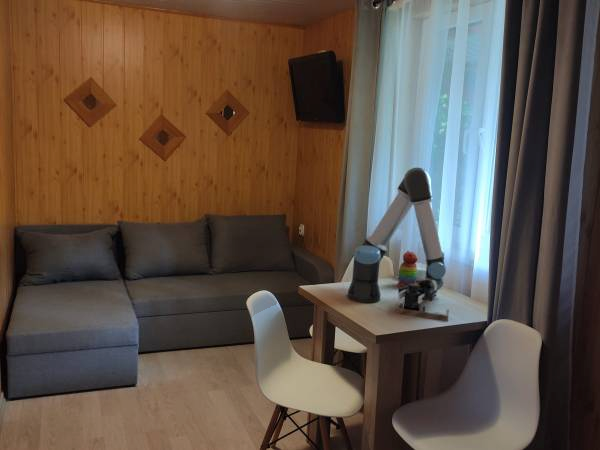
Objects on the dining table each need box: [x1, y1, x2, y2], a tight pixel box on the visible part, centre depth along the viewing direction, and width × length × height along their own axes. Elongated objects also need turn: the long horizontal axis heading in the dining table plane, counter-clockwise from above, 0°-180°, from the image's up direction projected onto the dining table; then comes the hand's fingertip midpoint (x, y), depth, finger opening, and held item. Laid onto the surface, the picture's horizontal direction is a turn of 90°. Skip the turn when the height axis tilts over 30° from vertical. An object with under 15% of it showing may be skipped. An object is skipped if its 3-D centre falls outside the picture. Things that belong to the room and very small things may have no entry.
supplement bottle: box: [402, 283, 421, 311], centre depth 252 cm, size 7×7×12 cm
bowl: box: [415, 262, 427, 282], centre depth 311 cm, size 16×16×7 cm
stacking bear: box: [397, 250, 419, 288], centre depth 294 cm, size 11×10×18 cm
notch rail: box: [396, 302, 450, 321], centre depth 251 cm, size 21×10×2 cm, turn 75°
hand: (409, 298), depth 248 cm, fingers open, 8 cm apart
